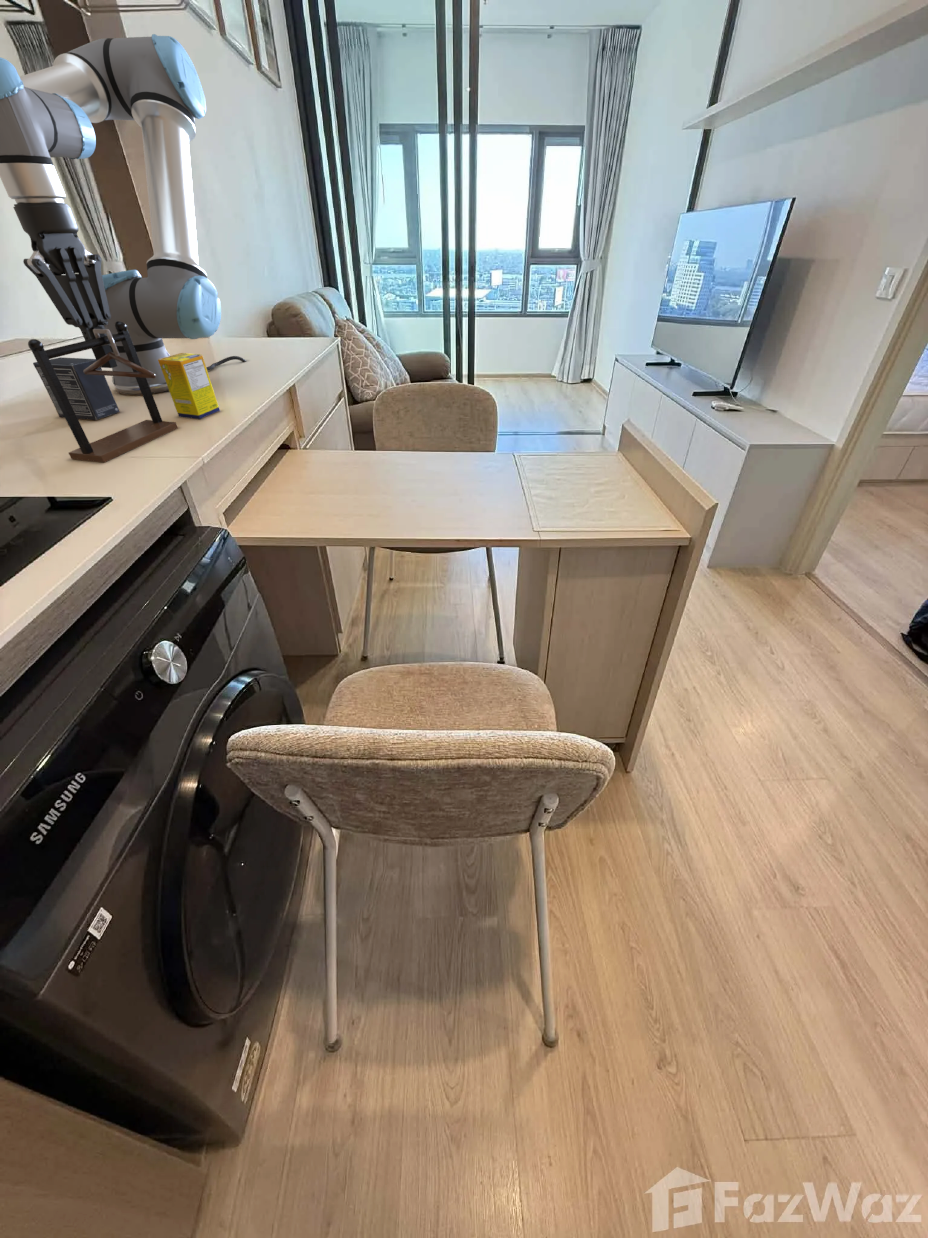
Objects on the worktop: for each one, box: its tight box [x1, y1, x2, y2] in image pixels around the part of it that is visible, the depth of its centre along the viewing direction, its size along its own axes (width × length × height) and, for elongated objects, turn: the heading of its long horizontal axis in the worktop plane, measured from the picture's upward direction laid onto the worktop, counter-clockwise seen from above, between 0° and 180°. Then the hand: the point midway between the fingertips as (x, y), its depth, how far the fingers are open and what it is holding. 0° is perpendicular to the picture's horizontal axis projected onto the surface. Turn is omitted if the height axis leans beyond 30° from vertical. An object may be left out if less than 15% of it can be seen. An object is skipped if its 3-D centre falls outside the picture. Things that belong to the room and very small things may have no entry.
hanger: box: [83, 329, 156, 379], centre depth 87 cm, size 1×15×7 cm, turn 75°
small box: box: [32, 356, 121, 421], centre depth 104 cm, size 11×6×10 cm, turn 72°
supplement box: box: [158, 352, 221, 420], centre depth 102 cm, size 6×6×11 cm
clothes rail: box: [27, 321, 179, 463], centre depth 87 cm, size 18×7×18 cm, turn 164°
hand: (108, 366), depth 94 cm, fingers closed
